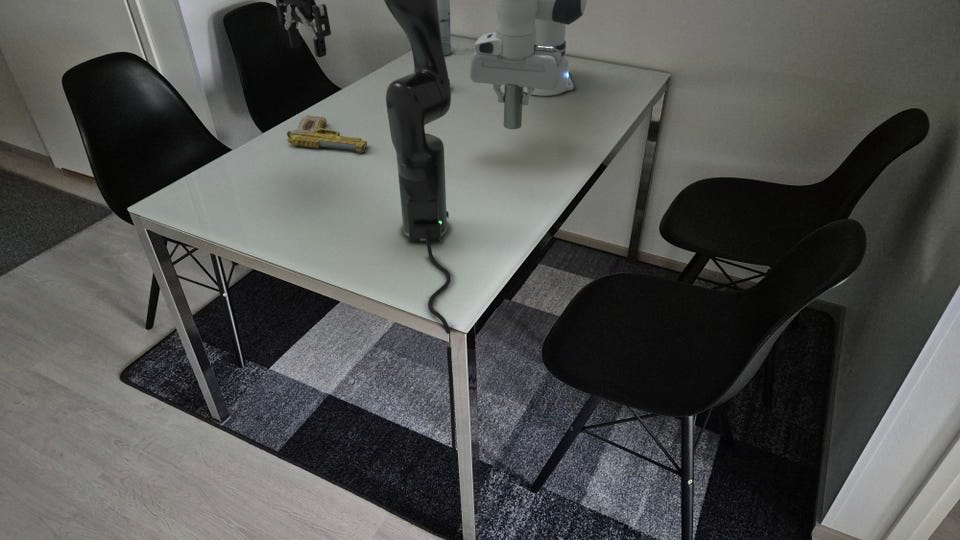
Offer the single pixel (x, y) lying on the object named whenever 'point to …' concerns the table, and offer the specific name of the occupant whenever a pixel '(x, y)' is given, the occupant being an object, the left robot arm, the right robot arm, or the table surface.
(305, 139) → the handgun
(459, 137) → the table surface
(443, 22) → the spray paint can
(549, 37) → the right robot arm
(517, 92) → the can
